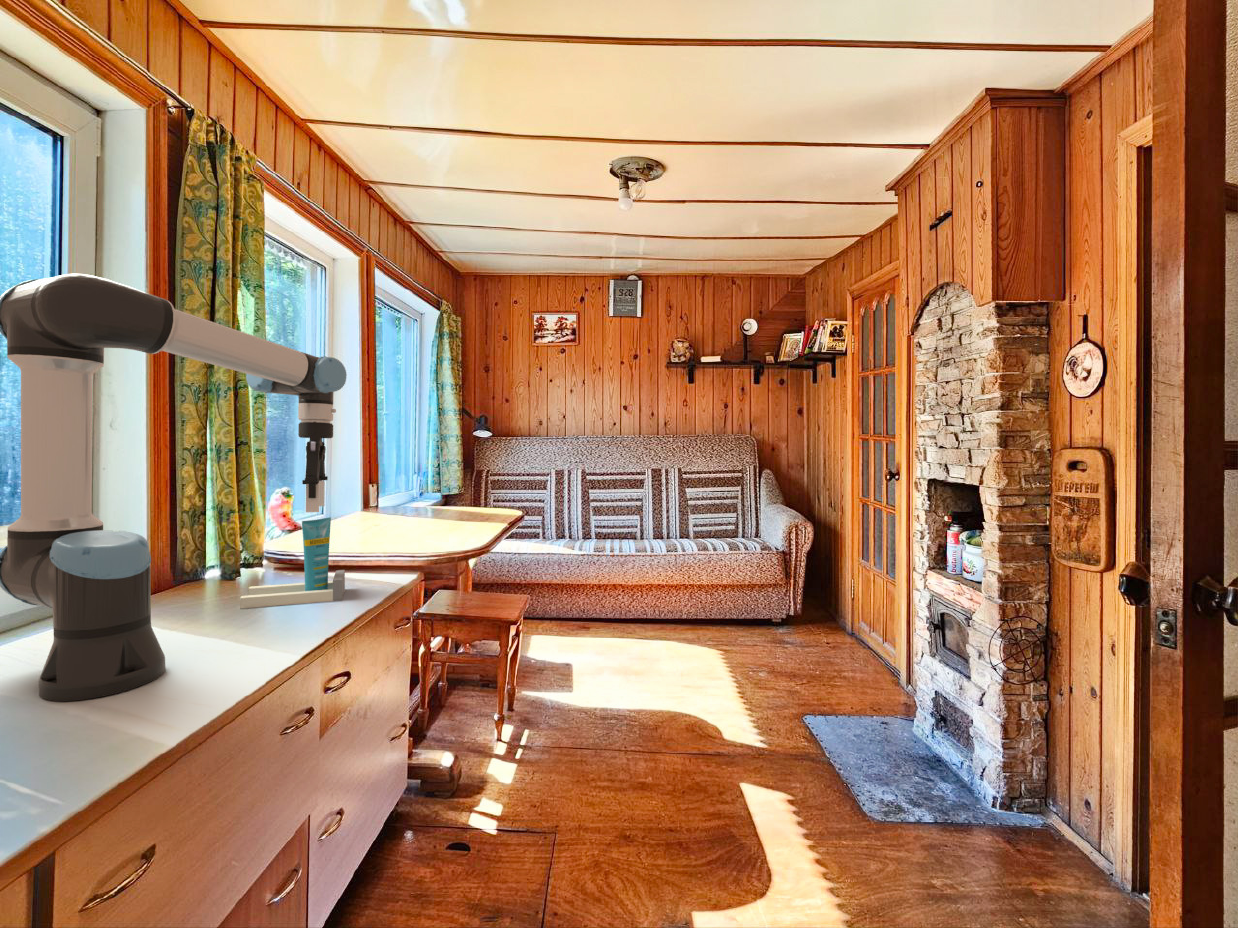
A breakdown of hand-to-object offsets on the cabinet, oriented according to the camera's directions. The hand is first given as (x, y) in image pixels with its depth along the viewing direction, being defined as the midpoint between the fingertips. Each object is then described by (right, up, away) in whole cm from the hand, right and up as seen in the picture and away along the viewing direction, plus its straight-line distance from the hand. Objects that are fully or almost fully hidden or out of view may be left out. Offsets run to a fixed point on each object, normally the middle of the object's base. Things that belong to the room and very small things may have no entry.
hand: (315, 509), depth 143 cm
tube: (0, -22, +1) cm, 22 cm away
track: (-5, -22, -1) cm, 22 cm away
